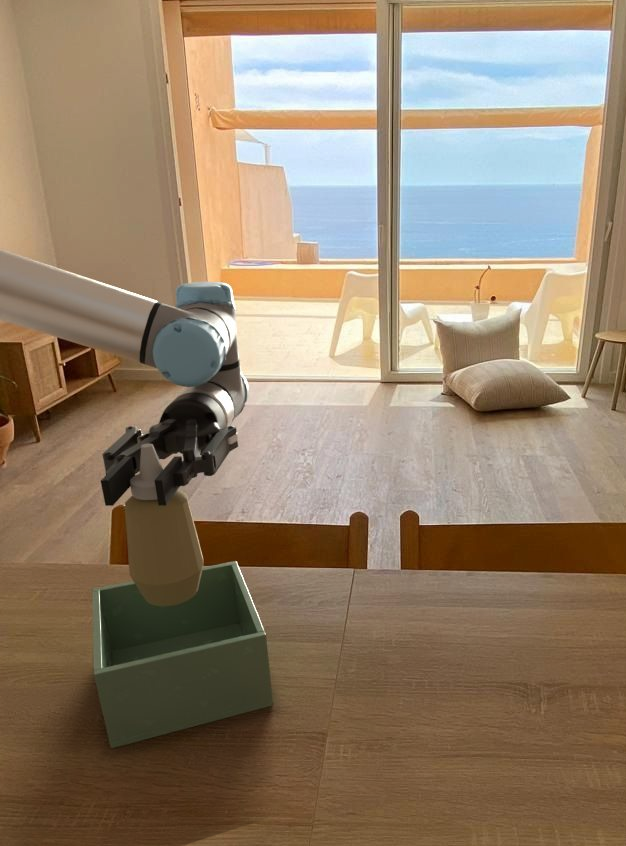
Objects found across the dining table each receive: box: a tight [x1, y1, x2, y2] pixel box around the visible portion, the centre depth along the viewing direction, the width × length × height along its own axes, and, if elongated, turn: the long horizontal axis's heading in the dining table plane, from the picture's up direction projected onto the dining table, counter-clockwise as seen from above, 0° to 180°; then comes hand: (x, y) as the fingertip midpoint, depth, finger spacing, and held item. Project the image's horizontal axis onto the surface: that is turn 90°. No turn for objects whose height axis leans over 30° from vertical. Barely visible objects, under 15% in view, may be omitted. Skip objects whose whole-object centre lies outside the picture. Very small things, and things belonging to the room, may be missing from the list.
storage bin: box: [91, 560, 274, 749], centre depth 82 cm, size 18×18×10 cm
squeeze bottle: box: [124, 444, 205, 606], centre depth 75 cm, size 8×8×18 cm
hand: (133, 492), depth 68 cm, fingers closed on squeeze bottle, 5 cm apart
